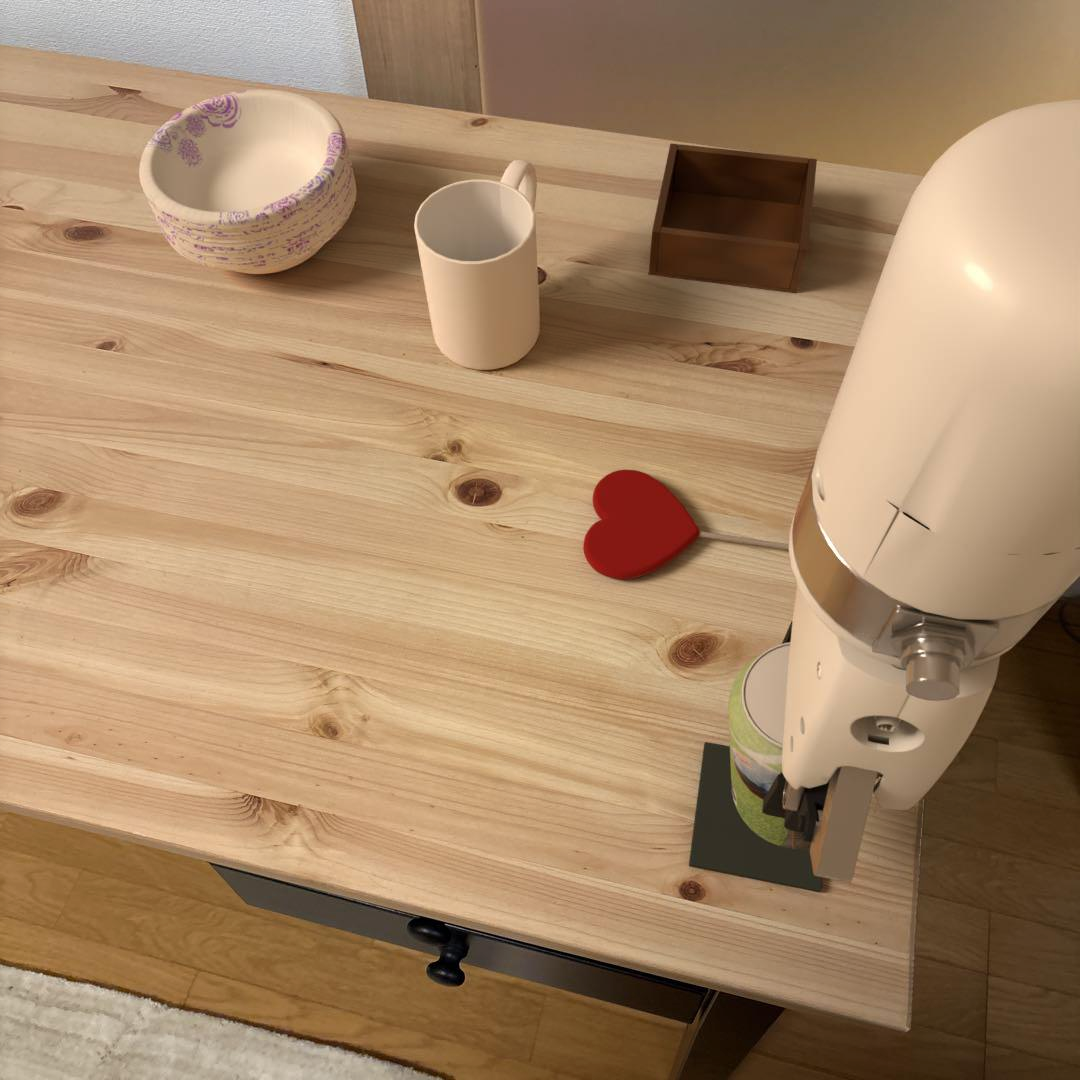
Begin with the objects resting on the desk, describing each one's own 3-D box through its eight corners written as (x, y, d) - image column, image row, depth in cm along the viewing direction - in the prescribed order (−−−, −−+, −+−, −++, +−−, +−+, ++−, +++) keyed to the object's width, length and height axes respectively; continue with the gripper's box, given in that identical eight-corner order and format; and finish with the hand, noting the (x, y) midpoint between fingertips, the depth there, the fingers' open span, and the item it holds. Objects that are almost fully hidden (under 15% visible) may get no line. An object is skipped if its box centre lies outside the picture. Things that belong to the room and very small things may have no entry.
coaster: (827, 766, 57) (829, 764, 56) (819, 892, 53) (821, 891, 53) (704, 743, 58) (704, 741, 57) (688, 866, 54) (689, 864, 54)
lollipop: (825, 502, 65) (598, 470, 67) (828, 494, 65) (598, 462, 66) (819, 612, 61) (577, 575, 63) (822, 605, 61) (577, 568, 62)
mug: (512, 385, 71) (503, 277, 62) (414, 352, 73) (392, 243, 64) (579, 271, 77) (580, 156, 68) (487, 243, 79) (475, 127, 70)
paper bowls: (234, 151, 85) (204, 66, 78) (396, 192, 82) (379, 107, 75) (136, 274, 78) (94, 192, 71) (308, 324, 75) (281, 243, 68)
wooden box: (805, 203, 80) (817, 158, 76) (796, 293, 75) (808, 249, 71) (666, 187, 81) (670, 142, 77) (648, 274, 76) (651, 231, 73)
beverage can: (835, 873, 48) (904, 807, 38) (688, 820, 50) (715, 743, 39) (862, 754, 51) (934, 662, 41) (722, 707, 53) (757, 607, 42)
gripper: (1083, 857, 24) (884, 962, 40) (1049, 328, 33) (895, 584, 48) (772, 798, 25) (696, 923, 41) (816, 298, 34) (739, 559, 49)
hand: (805, 738), depth 44 cm, fingers closed on beverage can, 6 cm apart
